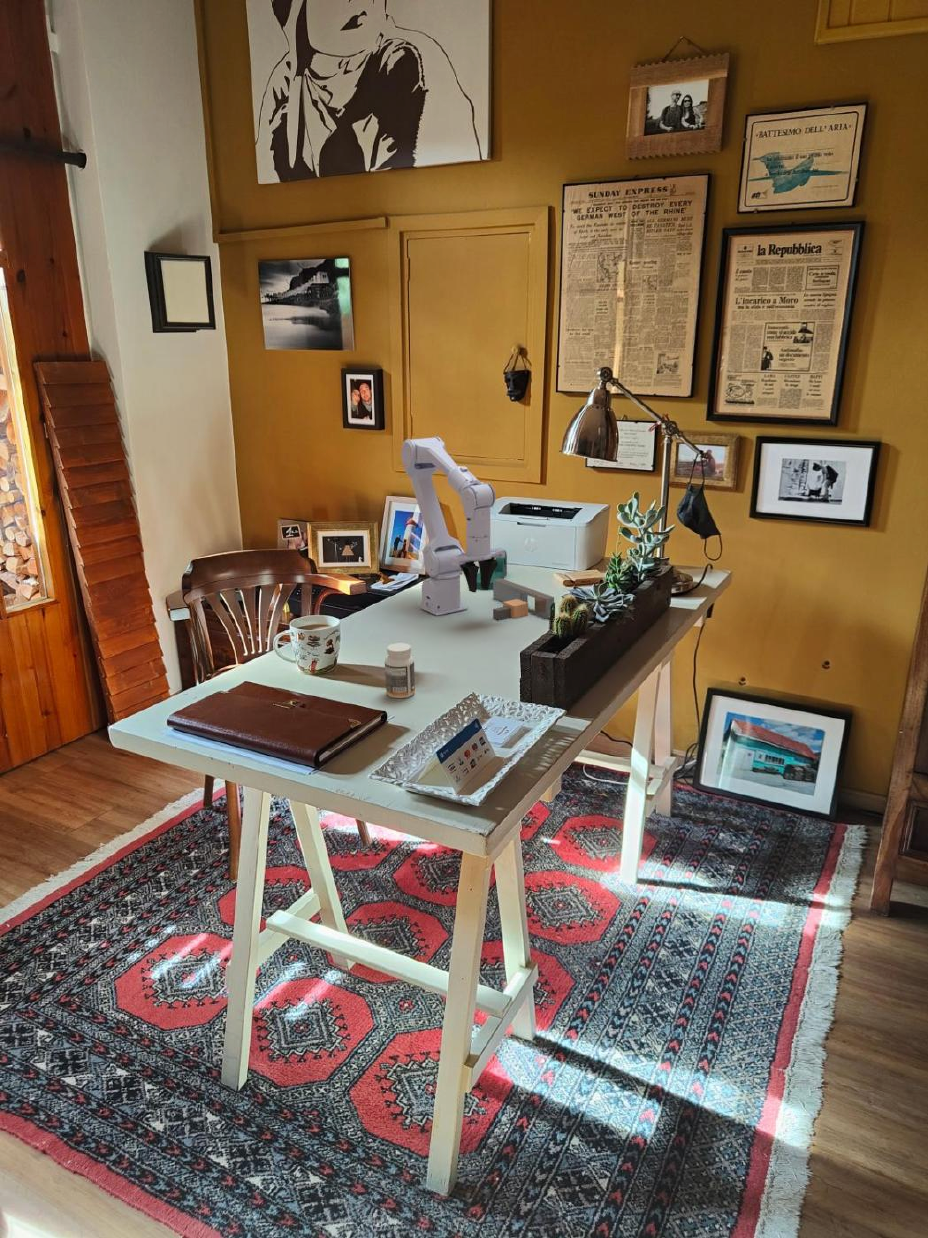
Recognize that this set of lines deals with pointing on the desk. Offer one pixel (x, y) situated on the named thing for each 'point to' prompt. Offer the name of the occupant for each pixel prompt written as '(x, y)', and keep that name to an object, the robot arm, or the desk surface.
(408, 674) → the pill bottle
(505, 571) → the bracket
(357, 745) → the desk surface
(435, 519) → the robot arm
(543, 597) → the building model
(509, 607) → the plug
